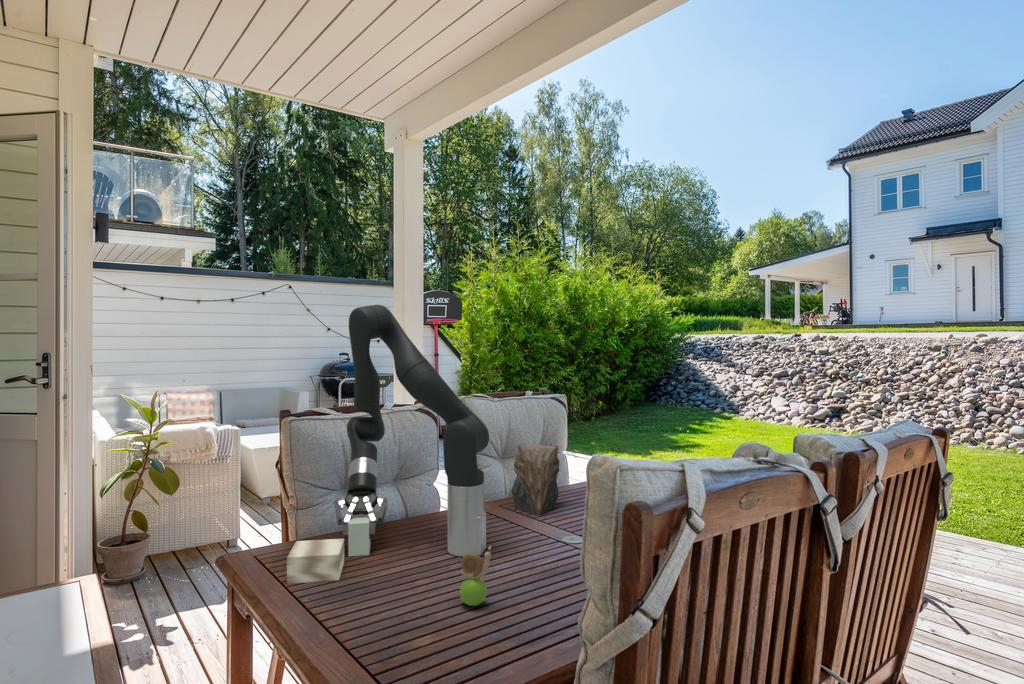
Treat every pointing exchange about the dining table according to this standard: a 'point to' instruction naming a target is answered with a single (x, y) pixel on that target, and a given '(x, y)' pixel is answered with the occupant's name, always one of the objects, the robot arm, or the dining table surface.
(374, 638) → the dining table surface
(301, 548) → the birch block
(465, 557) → the snail figurine
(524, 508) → the owl
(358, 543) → the sage block
